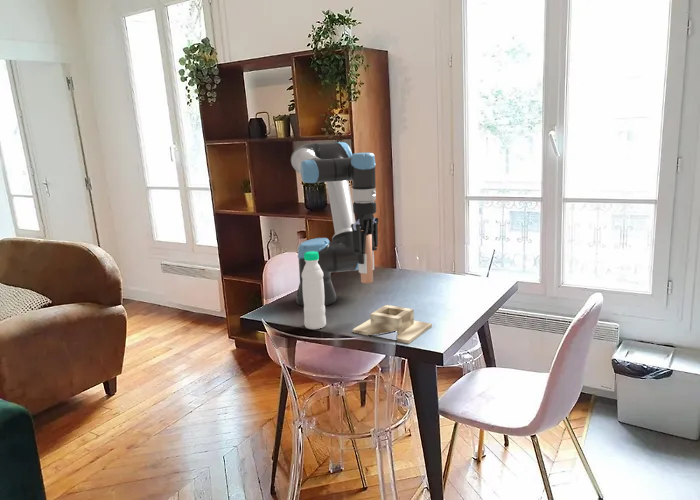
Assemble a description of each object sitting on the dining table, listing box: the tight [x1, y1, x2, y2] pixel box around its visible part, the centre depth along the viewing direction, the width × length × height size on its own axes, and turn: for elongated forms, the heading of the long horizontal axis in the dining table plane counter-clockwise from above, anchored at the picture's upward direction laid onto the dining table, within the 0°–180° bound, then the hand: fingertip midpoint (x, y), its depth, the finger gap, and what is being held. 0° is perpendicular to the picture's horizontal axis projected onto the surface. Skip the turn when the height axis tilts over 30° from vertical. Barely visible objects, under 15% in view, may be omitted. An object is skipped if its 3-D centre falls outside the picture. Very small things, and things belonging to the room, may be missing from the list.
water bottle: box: [302, 251, 327, 330], centre depth 177 cm, size 7×7×25 cm
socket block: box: [352, 304, 433, 344], centre depth 174 cm, size 20×16×6 cm
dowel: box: [360, 234, 374, 284], centre depth 180 cm, size 4×4×16 cm
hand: (366, 271), depth 182 cm, fingers closed on dowel, 4 cm apart
